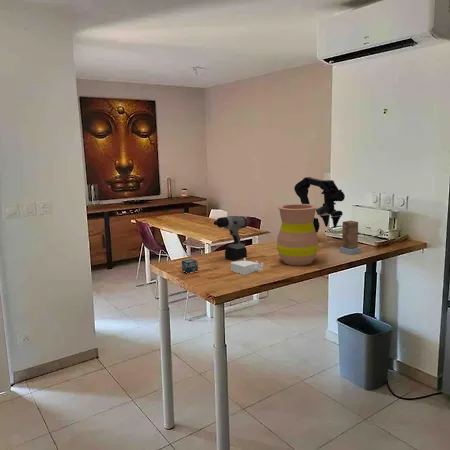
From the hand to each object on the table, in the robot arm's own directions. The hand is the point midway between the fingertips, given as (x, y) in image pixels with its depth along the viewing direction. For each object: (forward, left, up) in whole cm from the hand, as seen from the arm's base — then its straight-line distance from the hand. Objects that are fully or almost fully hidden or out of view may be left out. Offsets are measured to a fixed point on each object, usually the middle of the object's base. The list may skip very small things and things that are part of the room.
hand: (330, 227), depth 256 cm
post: (+16, +1, -10) cm, 19 cm away
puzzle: (+1, -92, -13) cm, 93 cm away
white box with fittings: (+14, -65, -13) cm, 68 cm away
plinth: (+16, +1, -13) cm, 20 cm away
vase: (+15, -35, -13) cm, 40 cm away
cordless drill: (-9, -63, -13) cm, 65 cm away
